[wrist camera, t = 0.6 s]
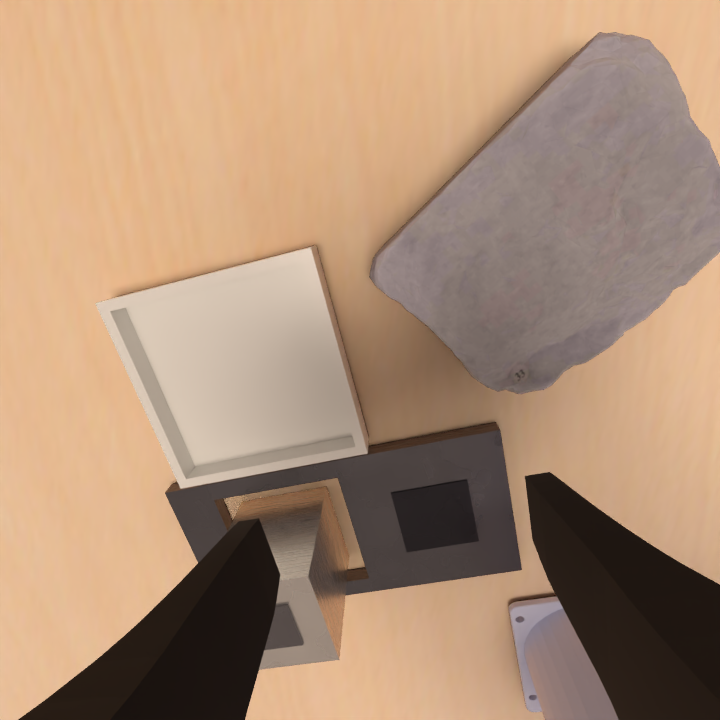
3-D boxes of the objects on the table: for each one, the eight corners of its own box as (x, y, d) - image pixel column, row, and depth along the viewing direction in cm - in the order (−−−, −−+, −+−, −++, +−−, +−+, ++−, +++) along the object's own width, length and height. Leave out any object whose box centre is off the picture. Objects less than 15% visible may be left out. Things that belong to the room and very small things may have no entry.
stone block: (683, 215, 19) (572, 20, 15) (786, 238, 15) (667, -25, 11) (482, 379, 22) (351, 255, 19) (517, 435, 18) (358, 290, 14)
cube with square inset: (349, 555, 24) (338, 662, 18) (269, 567, 25) (235, 674, 19) (326, 486, 22) (307, 578, 17) (242, 501, 23) (196, 594, 17)
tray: (368, 437, 21) (367, 453, 20) (193, 471, 22) (180, 488, 21) (316, 245, 18) (310, 247, 17) (116, 296, 19) (95, 303, 18)
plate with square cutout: (517, 558, 23) (522, 570, 22) (226, 601, 26) (221, 614, 25) (495, 422, 21) (500, 430, 20) (172, 483, 23) (164, 493, 22)
